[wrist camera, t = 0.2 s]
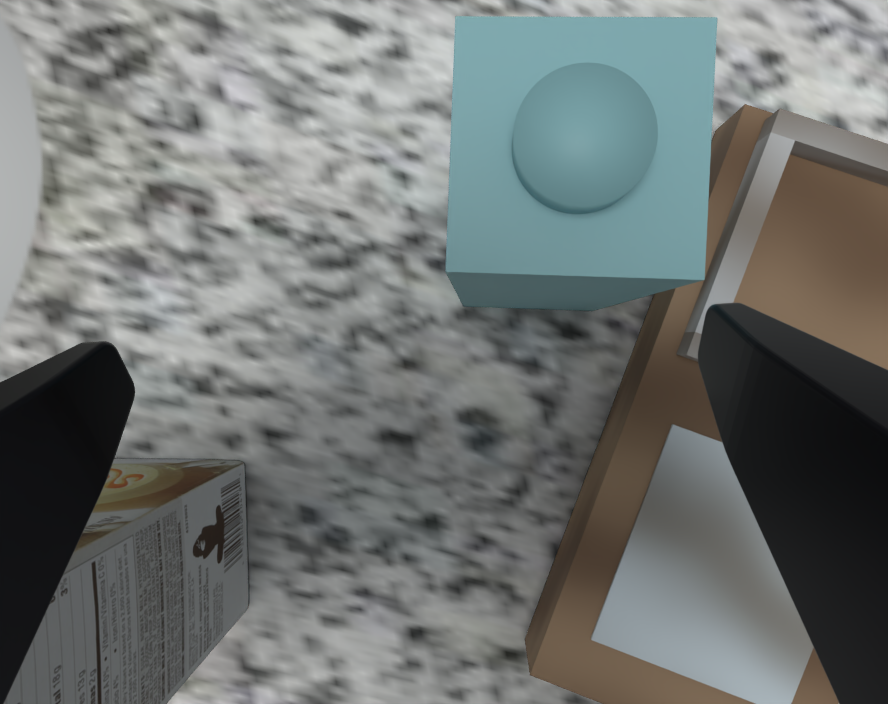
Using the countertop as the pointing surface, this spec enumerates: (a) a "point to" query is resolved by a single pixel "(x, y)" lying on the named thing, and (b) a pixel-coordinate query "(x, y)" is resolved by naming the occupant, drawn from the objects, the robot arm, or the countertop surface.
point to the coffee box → (144, 586)
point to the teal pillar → (578, 159)
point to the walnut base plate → (715, 439)
